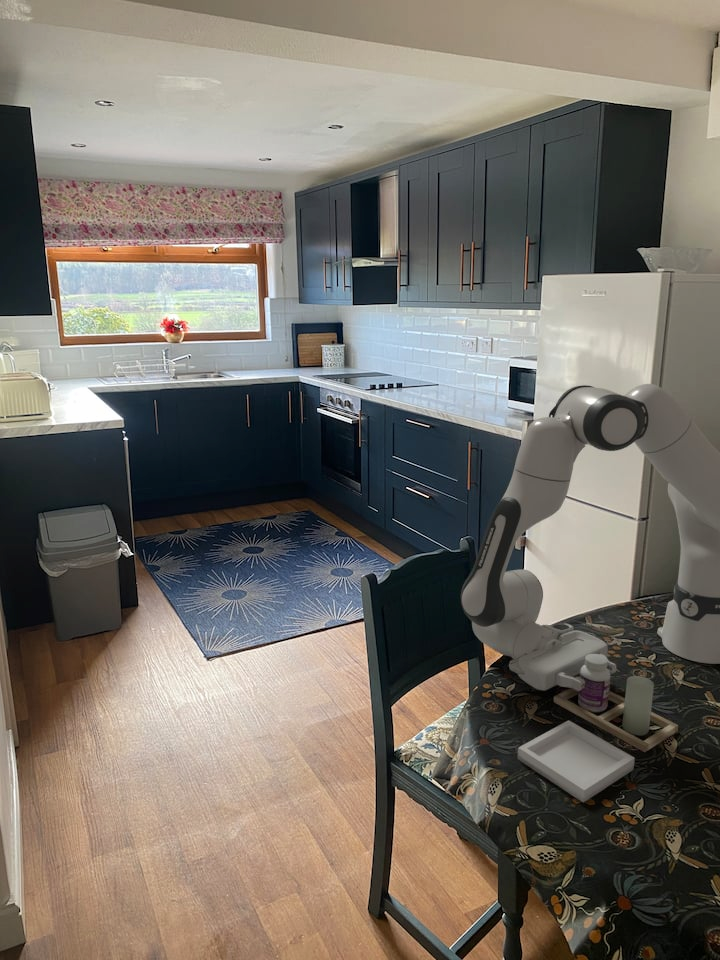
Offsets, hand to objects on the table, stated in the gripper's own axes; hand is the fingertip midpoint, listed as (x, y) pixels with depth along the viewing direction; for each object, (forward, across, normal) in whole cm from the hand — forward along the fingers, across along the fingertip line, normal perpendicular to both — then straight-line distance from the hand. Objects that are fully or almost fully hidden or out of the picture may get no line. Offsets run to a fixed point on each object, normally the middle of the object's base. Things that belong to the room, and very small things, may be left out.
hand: (598, 677), depth 131 cm
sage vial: (+8, 0, +6) cm, 10 cm away
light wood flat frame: (+4, 0, +6) cm, 7 cm away
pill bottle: (-1, 0, +6) cm, 6 cm away
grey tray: (+8, -17, +6) cm, 20 cm away
